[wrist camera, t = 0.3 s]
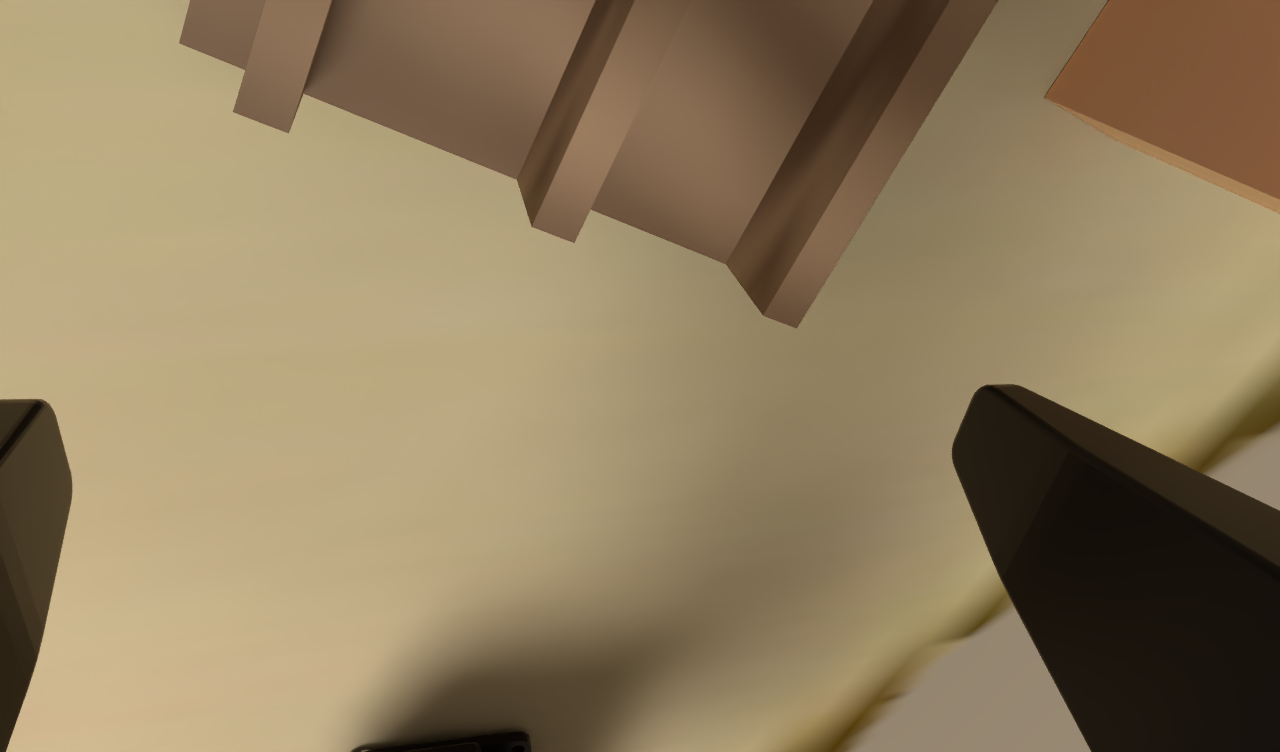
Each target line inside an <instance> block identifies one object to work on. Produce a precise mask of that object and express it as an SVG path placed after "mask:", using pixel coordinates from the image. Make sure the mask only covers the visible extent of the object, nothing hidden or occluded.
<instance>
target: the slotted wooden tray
mask: <svg viewBox="0 0 1280 752" xmlns="http://www.w3.org/2000/svg"><path fill="white" fill-rule="evenodd" d="M997 1H998V0H190V4H189V8H188V11H187V15H186V19H185V23H184V27H183V31H182V34H181V38H180V42H179V43H180V44H182V45H185V46H187V47H190V48H192V49H195V50H197V51H200V52H202V53H205V54H207V55H210V56H212V57H215V58H217V59H219V60H222V61H224V62H227V63H229V64H232V65H234V66H237V67H239V68H242V69H244V70H245V73H244V77H243V80H242V83H241V87H240V90H239V94H238V97H237V100H236V104H235V107H234V110H233V112H234V113H237V114H240V115H242V116H245V117H247V118H250V119H253V120H255V121H258V122H260V123H263V124H266V125H268V126H271V127H274V128H276V129H279V130H281V131H284V132H287V133H289V131H290V129H291V126H292V123H293V120H294V118H295V115H296V112H297V109H298V107H299V104H300V101H301V98H302V96H303V93H304V94H306V95H309V96H311V97H314V98H316V99H318V100H321V101H323V102H326V103H328V104H331V105H333V106H336V107H338V108H341V109H343V110H346V111H348V112H351V113H353V114H356V115H358V116H361V117H363V118H366V119H368V120H370V121H373V122H375V123H378V124H380V125H383V126H385V127H388V128H390V129H393V130H395V131H398V132H400V133H403V134H405V135H408V136H410V137H413V138H415V139H418V140H420V141H422V142H425V143H427V144H430V145H432V146H435V147H437V148H440V149H442V150H445V151H447V152H450V153H452V154H455V155H457V156H460V157H462V158H465V159H467V160H470V161H472V162H474V163H477V164H479V165H482V166H484V167H487V168H489V169H492V170H494V171H497V172H499V173H502V174H504V175H507V176H509V177H512V178H514V179H517V182H518V185H519V188H520V191H521V194H522V197H523V201H524V204H525V207H526V210H527V213H528V216H529V220H530V223H531V226H532V227H534V228H537V229H539V230H542V231H544V232H547V233H550V234H552V235H555V236H557V237H560V238H563V239H565V240H568V241H570V242H573V243H575V240H576V238H577V236H578V234H579V232H580V230H581V228H582V226H583V224H584V222H585V220H586V218H587V215H588V213H589V211H590V209H591V210H593V211H596V212H598V213H601V214H603V215H606V216H608V217H611V218H613V219H616V220H618V221H621V222H623V223H626V224H628V225H630V226H633V227H635V228H638V229H640V230H643V231H645V232H648V233H650V234H653V235H655V236H658V237H660V238H663V239H665V240H668V241H670V242H673V243H675V244H678V245H680V246H682V247H685V248H687V249H690V250H692V251H695V252H697V253H700V254H702V255H705V256H707V257H710V258H712V259H715V260H717V261H720V262H722V263H725V264H726V265H727V266H728V268H729V269H730V271H731V272H732V273H733V275H734V276H735V277H736V279H737V280H738V282H739V283H740V284H741V286H742V287H743V288H744V290H745V291H746V293H747V294H748V295H749V297H750V298H751V299H752V301H753V302H754V304H755V305H756V306H757V308H758V309H759V310H760V312H761V313H762V315H763V316H766V317H768V318H771V319H774V320H776V321H779V322H781V323H784V324H787V325H789V326H792V327H794V328H797V327H798V325H799V324H800V322H801V321H802V319H803V317H804V316H805V314H806V312H807V311H808V309H809V308H810V306H811V304H812V303H813V301H814V299H815V298H816V296H817V295H818V293H819V291H820V290H821V288H822V286H823V285H824V283H825V282H826V280H827V278H828V277H829V275H830V273H831V272H832V270H833V268H834V267H835V265H836V264H837V262H838V260H839V259H840V257H841V255H842V254H843V252H844V251H845V249H846V247H847V246H848V244H849V242H850V241H851V239H852V238H853V236H854V234H855V233H856V231H857V229H858V228H859V226H860V225H861V223H862V221H863V220H864V218H865V216H866V215H867V213H868V211H869V210H870V208H871V207H872V205H873V203H874V202H875V200H876V198H877V197H878V195H879V194H880V192H881V190H882V189H883V187H884V185H885V184H886V182H887V181H888V179H889V177H890V176H891V174H892V172H893V171H894V169H895V168H896V166H897V164H898V163H899V161H900V159H901V158H902V156H903V155H904V153H905V151H906V150H907V148H908V146H909V145H910V143H911V141H912V140H913V138H914V137H915V135H916V133H917V132H918V130H919V128H920V127H921V125H922V124H923V122H924V120H925V119H926V117H927V115H928V114H929V112H930V111H931V109H932V107H933V106H934V104H935V102H936V101H937V99H938V98H939V96H940V94H941V93H942V91H943V89H944V88H945V86H946V84H947V83H948V81H949V80H950V78H951V76H952V75H953V73H954V71H955V70H956V68H957V67H958V65H959V63H960V62H961V60H962V58H963V57H964V55H965V54H966V52H967V50H968V49H969V47H970V45H971V44H972V42H973V41H974V39H975V37H976V36H977V34H978V32H979V31H980V29H981V28H982V26H983V24H984V23H985V21H986V19H987V18H988V16H989V14H990V13H991V11H992V10H993V8H994V6H995V5H996V3H997Z"/></svg>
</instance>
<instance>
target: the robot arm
mask: <svg viewBox="0 0 1280 752" xmlns="http://www.w3.org/2000/svg"><path fill="white" fill-rule="evenodd" d="M952 460H953V464H954V467H955V470H956V472H957V475H958V477H959V480H960V482H961V485H962V487H963V489H964V492H965V494H966V497H967V499H968V502H969V504H970V507H971V509H972V512H973V514H974V516H975V519H976V521H977V524H978V526H979V529H980V531H981V534H982V536H983V539H984V541H985V543H986V546H987V548H988V551H989V553H990V556H991V558H992V561H993V563H994V565H995V568H996V570H997V572H998V574H999V577H1000V579H1001V581H1002V583H1003V585H1004V587H1005V589H1006V591H1007V593H1008V595H1009V597H1010V599H1011V601H1012V603H1013V605H1014V607H1015V609H1016V611H1017V612H1018V614H1019V616H1020V618H1021V620H1022V622H1023V624H1024V626H1025V628H1026V629H1027V631H1028V633H1029V635H1030V637H1031V639H1032V641H1033V643H1034V644H1035V646H1036V648H1037V650H1038V652H1039V654H1040V656H1041V658H1042V660H1043V661H1044V663H1045V665H1046V667H1047V669H1048V671H1049V673H1050V674H1051V677H1052V678H1053V680H1054V682H1055V684H1056V686H1057V688H1058V690H1059V692H1060V693H1061V695H1062V697H1063V699H1064V701H1065V703H1066V705H1067V707H1068V709H1069V711H1070V712H1071V714H1072V716H1073V718H1074V720H1075V722H1076V724H1077V726H1078V728H1079V729H1080V731H1081V733H1082V735H1083V737H1084V739H1085V741H1086V743H1087V744H1088V746H1089V748H1090V750H1091V752H1280V511H1279V510H1277V509H1275V508H1272V507H1271V506H1269V505H1267V504H1264V503H1262V502H1260V501H1258V500H1256V499H1254V498H1252V497H1250V496H1248V495H1246V494H1244V493H1241V492H1240V491H1238V490H1235V489H1233V488H1231V487H1229V486H1227V485H1225V484H1223V483H1221V482H1219V481H1217V480H1215V479H1213V478H1211V477H1209V476H1207V475H1204V474H1202V473H1200V472H1198V471H1196V470H1194V469H1192V468H1190V467H1188V466H1186V465H1184V464H1182V463H1180V462H1177V461H1175V460H1173V459H1171V458H1169V457H1167V456H1165V455H1163V454H1161V453H1159V452H1157V451H1155V450H1153V449H1151V448H1148V447H1146V446H1144V445H1142V444H1140V443H1138V442H1136V441H1134V440H1132V439H1130V438H1128V437H1126V436H1124V435H1121V434H1119V433H1117V432H1115V431H1113V430H1111V429H1109V428H1107V427H1105V426H1103V425H1101V424H1099V423H1097V422H1094V421H1092V420H1090V419H1088V418H1086V417H1084V416H1082V415H1080V414H1078V413H1076V412H1074V411H1072V410H1070V409H1068V408H1065V407H1063V406H1061V405H1059V404H1057V403H1055V402H1053V401H1051V400H1049V399H1047V398H1045V397H1043V396H1041V395H1038V394H1036V393H1034V392H1032V391H1030V390H1028V389H1026V388H1024V387H1022V386H1019V385H1014V384H1002V385H985V386H983V387H980V388H979V389H978V390H977V391H976V392H975V394H974V395H973V397H972V399H971V402H970V404H969V406H968V409H967V411H966V413H965V416H964V418H963V420H962V423H961V425H960V427H959V430H958V432H957V434H956V437H955V439H954V442H953V446H952ZM71 500H72V476H71V471H70V468H69V464H68V460H67V456H66V453H65V449H64V445H63V441H62V438H61V434H60V430H59V426H58V423H57V419H56V416H55V413H54V411H53V409H52V407H51V406H50V404H49V403H47V402H46V401H44V400H42V399H1V400H0V752H6V750H7V747H8V744H9V741H10V738H11V735H12V733H13V730H14V727H15V724H16V721H17V718H18V716H19V713H20V710H21V707H22V704H23V701H24V699H25V696H26V693H27V690H28V687H29V684H30V681H31V678H32V675H33V672H34V668H35V665H36V662H37V659H38V655H39V651H40V646H41V642H42V638H43V634H44V629H45V624H46V620H47V615H48V610H49V605H50V601H51V596H52V591H53V586H54V582H55V577H56V572H57V567H58V563H59V558H60V553H61V548H62V544H63V539H64V534H65V529H66V525H67V520H68V515H69V510H70V506H71ZM366 752H531V742H530V737H529V735H528V734H527V733H524V732H513V733H505V734H497V735H489V736H482V737H474V738H466V739H458V740H451V741H443V742H435V743H428V744H420V745H412V746H404V747H397V748H389V749H381V750H373V751H366Z"/></svg>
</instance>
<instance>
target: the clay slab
mask: <svg viewBox="0 0 1280 752" xmlns="http://www.w3.org/2000/svg"><path fill="white" fill-rule="evenodd" d="M1044 98H1046V99H1047V100H1049V101H1051V102H1052V103H1054V104H1056V105H1057V106H1059V107H1061V108H1062V109H1064V110H1066V111H1067V112H1069V113H1071V114H1072V115H1074V116H1076V117H1077V118H1079V119H1081V120H1082V121H1084V122H1086V123H1088V124H1089V125H1091V126H1093V127H1094V128H1096V129H1098V130H1099V131H1101V132H1103V133H1104V134H1106V135H1108V136H1109V137H1111V138H1113V139H1114V140H1116V141H1118V142H1121V143H1123V144H1125V145H1127V146H1130V147H1132V148H1134V149H1136V150H1138V151H1141V152H1143V153H1145V154H1147V155H1150V156H1152V157H1154V158H1156V159H1158V160H1161V161H1163V162H1165V163H1167V164H1170V165H1172V166H1174V167H1176V168H1179V169H1181V170H1183V171H1185V172H1187V173H1190V174H1192V175H1194V176H1196V177H1199V178H1201V179H1203V180H1205V181H1207V182H1210V183H1212V184H1214V185H1216V186H1219V187H1221V188H1223V189H1225V190H1228V191H1230V192H1232V193H1234V194H1236V195H1239V196H1241V197H1243V198H1245V199H1248V200H1250V201H1252V202H1254V203H1256V204H1259V205H1261V206H1263V207H1265V208H1268V209H1270V210H1272V211H1274V212H1276V213H1279V214H1280V0H1109V1H1108V2H1107V4H1106V5H1105V7H1104V8H1103V10H1102V11H1101V13H1100V14H1099V16H1098V17H1097V19H1096V20H1095V22H1094V23H1093V25H1092V26H1091V28H1090V29H1089V31H1088V33H1087V34H1086V36H1085V37H1084V39H1083V40H1082V42H1081V43H1080V45H1079V46H1078V48H1077V49H1076V51H1075V52H1074V54H1073V55H1072V57H1071V58H1070V60H1069V61H1068V63H1067V64H1066V66H1065V67H1064V69H1063V70H1062V72H1061V73H1060V75H1059V76H1058V78H1057V79H1056V81H1055V82H1054V84H1053V85H1052V87H1051V88H1050V90H1049V91H1048V93H1047V94H1046V96H1045V97H1044Z"/></svg>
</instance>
